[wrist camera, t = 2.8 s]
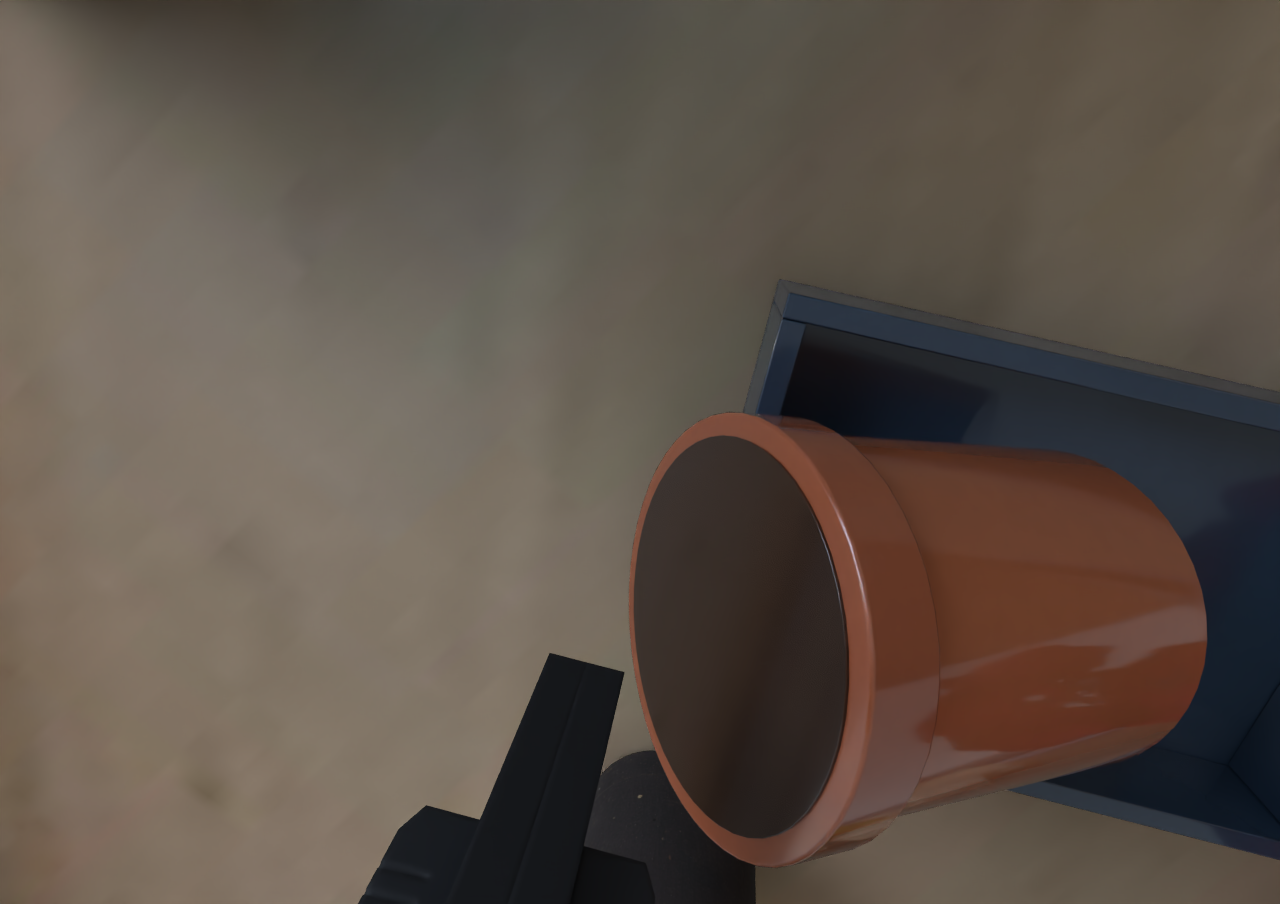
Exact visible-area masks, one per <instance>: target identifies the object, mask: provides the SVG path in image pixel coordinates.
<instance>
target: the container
mask: <svg viewBox="0 0 1280 904" xmlns="http://www.w3.org/2000/svg"><path fill="white" fill-rule="evenodd" d="M584 846H586V847H590V848H593V849H597V850H601V851H604V852H608V853H612V854H615V855H619V856H623V857H626V858H630V859H634V860H638V861H641V862H645V863H646V865H647V868H648V872H649V876H650V879H651V883H652V886H653V890H654V893H655V897H656V898H655V904H756V891H755V865H752V864H750V863H747V862H744V861H741V860H739V859H737V858H735V857H734V856H732V855H730V854H729V853H727V852H725V851H724V850H722V849H721V848H720V847H719V846H718V845H717V844H715V843H714V842H713V841H712V840H711V839H710V838H708V836H707V835H706V834H705V833H704V832H703V831H702V830H701V829H700V827H699V826H698V825H697V824H696V823H695V822H694V820H693V819H692V818H691V816H690V815H689V813H688V812H687V811H686V809H685V808H684V806H683V805H682V803H681V802H680V800H679V798H678V796H677V795H676V793H675V791H674V790H673V788H672V786H671V784H670V782H669V780H668V778H667V776H666V774H665V772H664V770H663V768H662V765H661V763H660V761H659V758H658V755H657V753H656V751H643V752H638V753H634V754H631V755H628V756H625V757H623V758H621V759H620V760H618V761H616V762H615V763H613V764H611V765H610V766H609V767H608V768H607V769H606V770H605V771H604V772H603V773H602V774H601V776H600V778H599V783H598V787H597V791H596V795H595V800H594V804H593V808H592V812H591V817H590V821H589V825H588V829H587V834H586V838H585V842H584Z"/></svg>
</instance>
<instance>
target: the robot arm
mask: <svg viewBox="0 0 1280 904" xmlns="http://www.w3.org/2000/svg"><path fill="white" fill-rule="evenodd" d="M623 677H624V672H622V671H618V670H614V669H610V668H606V667H602V666H598V665H594V664H590V663H587V662H583V661H579V660H575V659H571V658H567V657H563V656H559V655H556V654H552V653H549V656H548V658H547V660H546V663H545V665H544V668H543V670H542V672H541V675H540V677H539V680H538V682H537V684H536V687H535V689H534V692H533V694H532V696H531V699H530V701H529V704H528V706H527V708H526V711H525V713H524V716H523V718H522V720H521V723H520V725H519V728H518V730H517V732H516V735H515V737H514V740H513V742H512V744H511V747H510V749H509V751H508V754H507V756H506V759H505V761H504V763H503V766H502V768H501V771H500V773H499V775H498V778H497V780H496V783H495V785H494V787H493V790H492V792H491V795H490V797H489V799H488V802H487V804H486V807H485V809H484V811H483V814H482V816H481V819H480V820H479V819H475V818H471V817H467V816H464V815H460V814H456V813H453V812H449V811H445V810H442V809H438V808H434V807H431V806H427V805H426V806H425V807H424V808H423V809H421V810H420V811H419V812H418V813H417V814H416V815H414V816H413V817H412V818H411V819H410V820H409V821H408V822H406V823H405V824H404V825H403V826H402V827H401V828H399V829H398V831H397V833H396V835H395V837H394V839H393V840H392V842H391V844H390V846H389V848H388V850H387V852H386V853H385V855H384V857H383V859H382V861H381V864H380V866H379V868H377V870H376V872H375V874H374V875H373V877H372V879H371V881H370V883H369V885H368V886H367V889H366V892H365V894H364V895H363V896H362V897H361V899H360V901H359V903H358V904H655V898H656V897H655V893H654V890H653V886H652V883H651V879H650V876H649V872H648V868H647V865H646V863H645V862H641V861H638V860H634V859H630V858H626V857H623V856H619V855H615V854H612V853H608V852H604V851H601V850H597V849H593V848H590V847H586V846H584V842H585V838H586V834H587V829H588V825H589V821H590V817H591V812H592V808H593V804H594V800H595V795H596V791H597V787H598V783H599V778H600V774H601V770H602V766H603V761H604V757H605V753H606V749H607V744H608V740H609V736H610V732H611V727H612V723H613V719H614V715H615V711H616V706H617V702H618V698H619V694H620V689H621V685H622V681H623Z"/></svg>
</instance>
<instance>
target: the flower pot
mask: <svg viewBox="0 0 1280 904" xmlns="http://www.w3.org/2000/svg"><path fill="white" fill-rule="evenodd" d="M629 624H630V638H631V649H632V657H633V664H634V671H635V678H636V683H637V688H638V693H639V698H640V702H641V705H642V709H643V713H644V717H645V721H646V724H647V727H648V730H649V733H650V737H651V740H652V743H653V745H654V748H655V750H656V753H657V755H658V758H659V761H660V763H661V765H662V768H663V770H664V772H665V774H666V776H667V778H668V780H669V782H670V784H671V786H672V788H673V790H674V791H675V793H676V795H677V796H678V798H679V800H680V802H681V803H682V805H683V806H684V808H685V809H686V811H687V812H688V813H689V815H690V816H691V818H692V819H693V820H694V822H695V823H696V824H697V825H698V826H699V827H700V829H701V830H702V831H703V832H704V833H705V834H706V835H707V836H708V838H710V839H711V840H712V841H713V842H714V843H715V844H717V845H718V846H719V847H720V848H721V849H722V850H724V851H725V852H727V853H729V854H730V855H732V856H734V857H735V858H737V859H739V860H741V861H744V862H747V863H750V864H752V865H755V866H758V867H768V868H780V867H786V866H791V865H796V864H800V863H804V862H807V861H811V860H815V859H819V858H823V857H826V856H830V855H834V854H838V853H842V852H845V851H849V850H853V849H855V848H857V847H859V846H861V845H863V844H866V843H868V842H870V841H872V840H873V839H874V838H875V837H877V836H878V835H879V834H880V833H882V832H883V831H884V830H885V829H887V828H888V827H889V826H890V825H891V823H892V822H893V821H894V820H895V818H896V817H899V816H903V815H907V814H911V813H915V812H919V811H923V810H927V809H931V808H935V807H939V806H944V805H948V804H952V803H956V802H960V801H964V800H968V799H972V798H976V797H980V796H984V795H988V794H992V793H996V792H1000V791H1004V790H1008V789H1013V788H1017V787H1021V786H1025V785H1029V784H1033V783H1037V782H1041V781H1045V780H1049V779H1053V778H1057V777H1061V776H1065V775H1069V774H1073V773H1077V772H1082V771H1086V770H1090V769H1094V768H1098V767H1102V766H1106V765H1110V764H1114V763H1118V762H1122V761H1125V760H1127V759H1129V758H1132V757H1134V756H1136V755H1139V754H1141V753H1143V752H1144V751H1146V750H1147V749H1149V748H1150V747H1152V746H1153V745H1155V744H1156V743H1158V742H1159V741H1160V740H1161V739H1162V738H1163V737H1165V736H1166V735H1167V734H1168V733H1169V732H1170V731H1171V730H1172V729H1173V728H1174V727H1175V726H1176V724H1177V723H1178V722H1179V720H1180V719H1181V717H1182V716H1183V715H1184V713H1185V712H1186V710H1187V709H1188V707H1189V705H1190V703H1191V701H1192V699H1193V697H1194V695H1195V693H1196V691H1197V688H1198V685H1199V682H1200V678H1201V675H1202V671H1203V668H1204V664H1205V656H1206V647H1207V617H1206V610H1205V604H1204V599H1203V593H1202V589H1201V586H1200V583H1199V580H1198V577H1197V574H1196V571H1195V568H1194V565H1193V563H1192V561H1191V559H1190V557H1189V555H1188V552H1187V550H1186V548H1185V546H1184V544H1183V542H1182V541H1181V539H1180V538H1179V536H1178V535H1177V533H1176V531H1175V530H1174V528H1173V527H1172V525H1171V524H1170V522H1169V521H1168V520H1167V518H1166V517H1165V516H1164V515H1163V514H1162V513H1161V511H1160V510H1159V509H1158V508H1157V507H1156V506H1155V504H1154V503H1153V502H1152V501H1151V500H1150V499H1149V498H1148V497H1146V496H1145V495H1144V494H1143V493H1142V492H1141V491H1140V490H1139V489H1138V488H1137V487H1135V486H1134V485H1133V484H1132V483H1130V482H1129V481H1127V480H1126V479H1125V478H1123V477H1122V476H1120V475H1119V474H1117V473H1116V472H1115V471H1113V470H1111V469H1109V468H1107V467H1105V466H1103V465H1101V464H1099V463H1097V462H1095V461H1093V460H1090V459H1088V458H1085V457H1082V456H1079V455H1077V454H1074V453H1069V452H1064V451H1060V450H1055V449H1044V448H1031V447H1016V446H1001V445H985V444H970V443H955V442H940V441H925V440H910V439H894V438H879V437H864V436H849V435H839V434H837V433H836V432H835V431H833V430H831V429H829V428H827V427H825V426H823V425H821V424H819V423H817V422H815V421H811V420H808V419H804V418H800V417H794V416H782V415H769V414H756V413H742V412H725V413H720V414H714V415H712V416H710V417H707V418H705V419H703V420H700V421H698V422H697V423H695V424H694V425H693V426H691V427H690V428H688V429H687V430H686V431H685V432H684V433H683V434H682V435H681V436H680V437H679V438H678V439H677V440H676V441H675V442H674V443H673V444H672V446H671V447H670V448H669V450H668V451H667V452H666V454H665V455H664V457H663V459H662V460H661V462H660V464H659V465H658V467H657V469H656V471H655V473H654V475H653V478H652V480H651V482H650V484H649V487H648V489H647V492H646V495H645V498H644V501H643V504H642V507H641V511H640V515H639V519H638V522H637V527H636V532H635V538H634V543H633V550H632V558H631V567H630V581H629Z"/></svg>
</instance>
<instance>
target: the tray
mask: <svg viewBox="0 0 1280 904" xmlns="http://www.w3.org/2000/svg"><path fill="white" fill-rule="evenodd" d="M743 413H756V414H769V415H782V416H794V417H800V418H804V419H808V420H811V421H815V422H817V423H819V424H821V425H823V426H825V427H827V428H829V429H831V430H833V431H835V432H836V433H837V434H839V435H849V436H864V437H879V438H894V439H910V440H925V441H940V442H955V443H970V444H985V445H1001V446H1016V447H1031V448H1044V449H1055V450H1060V451H1064V452H1069V453H1074V454H1077V455H1079V456H1082V457H1085V458H1088V459H1090V460H1093V461H1095V462H1097V463H1099V464H1101V465H1103V466H1105V467H1107V468H1109V469H1111V470H1113V471H1115V472H1116V473H1117V474H1119V475H1120V476H1122V477H1123V478H1125V479H1126V480H1127V481H1129V482H1130V483H1132V484H1133V485H1134V486H1135V487H1137V488H1138V489H1139V490H1140V491H1141V492H1142V493H1143V494H1144V495H1145V496H1146V497H1148V498H1149V499H1150V500H1151V501H1152V502H1153V503H1154V504H1155V506H1156V507H1157V508H1158V509H1159V510H1160V511H1161V513H1162V514H1163V515H1164V516H1165V517H1166V518H1167V520H1168V521H1169V522H1170V524H1171V525H1172V527H1173V528H1174V530H1175V531H1176V533H1177V535H1178V536H1179V538H1180V539H1181V541H1182V542H1183V544H1184V546H1185V548H1186V550H1187V552H1188V555H1189V557H1190V559H1191V561H1192V563H1193V565H1194V568H1195V571H1196V574H1197V577H1198V580H1199V583H1200V586H1201V589H1202V593H1203V599H1204V604H1205V610H1206V617H1207V647H1206V656H1205V664H1204V668H1203V671H1202V675H1201V678H1200V682H1199V685H1198V688H1197V691H1196V693H1195V695H1194V697H1193V699H1192V701H1191V703H1190V705H1189V707H1188V709H1187V710H1186V712H1185V713H1184V715H1183V716H1182V717H1181V719H1180V720H1179V722H1178V723H1177V724H1176V726H1175V727H1174V728H1173V729H1172V730H1171V731H1170V732H1169V733H1168V734H1167V735H1166V736H1165V737H1163V738H1162V739H1161V740H1160V741H1159V742H1158V743H1156V744H1155V745H1153V746H1152V747H1150V748H1149V749H1147V750H1146V751H1144V752H1143V753H1141V754H1139V755H1136V756H1134V757H1132V758H1129V759H1127V760H1125V761H1122V762H1118V763H1114V764H1110V765H1106V766H1102V767H1098V768H1094V769H1090V770H1086V771H1082V772H1077V773H1073V774H1069V775H1065V776H1061V777H1057V778H1053V779H1049V780H1045V781H1041V782H1037V783H1033V784H1029V785H1025V786H1021V787H1017V788H1013V789H1008V791H1012V792H1016V793H1020V794H1024V795H1028V796H1032V797H1036V798H1040V799H1043V800H1047V801H1051V802H1055V803H1059V804H1063V805H1067V806H1071V807H1075V808H1078V809H1082V810H1086V811H1090V812H1094V813H1098V814H1102V815H1106V816H1110V817H1113V818H1117V819H1121V820H1125V821H1129V822H1133V823H1137V824H1141V825H1145V826H1149V827H1152V828H1156V829H1160V830H1164V831H1168V832H1172V833H1176V834H1180V835H1184V836H1187V837H1191V838H1195V839H1199V840H1203V841H1207V842H1211V843H1215V844H1219V845H1222V846H1226V847H1230V848H1234V849H1238V850H1242V851H1246V852H1250V853H1254V854H1258V855H1261V856H1265V857H1269V858H1273V859H1277V860H1280V392H1277V391H1273V390H1269V389H1264V388H1260V387H1255V386H1251V385H1247V384H1242V383H1238V382H1233V381H1229V380H1225V379H1220V378H1216V377H1211V376H1207V375H1203V374H1198V373H1194V372H1189V371H1185V370H1180V369H1176V368H1172V367H1167V366H1163V365H1158V364H1154V363H1150V362H1145V361H1141V360H1136V359H1132V358H1128V357H1123V356H1119V355H1114V354H1110V353H1105V352H1101V351H1097V350H1092V349H1088V348H1083V347H1079V346H1075V345H1070V344H1066V343H1061V342H1057V341H1053V340H1048V339H1044V338H1039V337H1035V336H1031V335H1026V334H1022V333H1017V332H1013V331H1008V330H1004V329H1000V328H995V327H991V326H986V325H982V324H978V323H973V322H969V321H964V320H960V319H956V318H951V317H947V316H942V315H938V314H933V313H929V312H925V311H920V310H916V309H911V308H907V307H903V306H898V305H894V304H889V303H885V302H881V301H876V300H872V299H867V298H863V297H859V296H854V295H850V294H845V293H841V292H836V291H832V290H828V289H823V288H819V287H814V286H810V285H806V284H801V283H797V282H792V281H788V280H784V279H779V281H778V284H777V288H776V292H775V295H774V299H773V303H772V306H771V310H770V314H769V317H768V321H767V325H766V328H765V332H764V336H763V339H762V343H761V347H760V350H759V354H758V358H757V361H756V365H755V369H754V372H753V376H752V380H751V383H750V387H749V391H748V394H747V398H746V402H745V406H744V409H743Z"/></svg>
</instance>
